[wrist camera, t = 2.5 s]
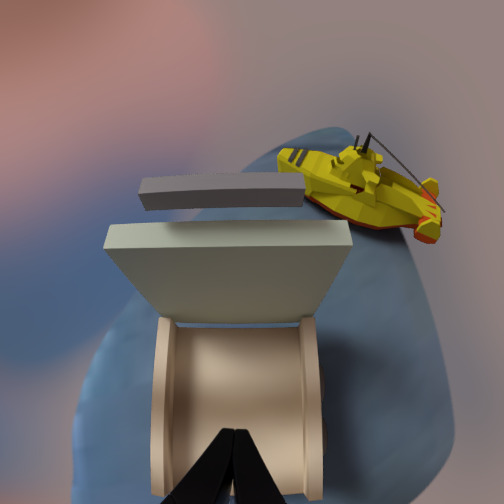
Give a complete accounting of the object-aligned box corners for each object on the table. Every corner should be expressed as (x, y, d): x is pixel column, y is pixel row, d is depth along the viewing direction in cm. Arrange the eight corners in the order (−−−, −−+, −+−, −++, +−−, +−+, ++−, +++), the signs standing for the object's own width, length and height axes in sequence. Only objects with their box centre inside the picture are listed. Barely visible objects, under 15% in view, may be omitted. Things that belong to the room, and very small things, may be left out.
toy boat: (425, 266, 25) (476, 201, 17) (265, 205, 29) (268, 123, 21) (427, 222, 28) (466, 158, 20) (286, 169, 32) (293, 94, 24)
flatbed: (318, 480, 15) (335, 497, 11) (173, 479, 15) (151, 494, 11) (312, 337, 22) (326, 316, 17) (177, 337, 22) (159, 317, 17)
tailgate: (309, 321, 19) (367, 216, 9) (167, 322, 19) (83, 222, 9) (307, 295, 20) (354, 175, 10) (169, 296, 20) (99, 183, 10)
